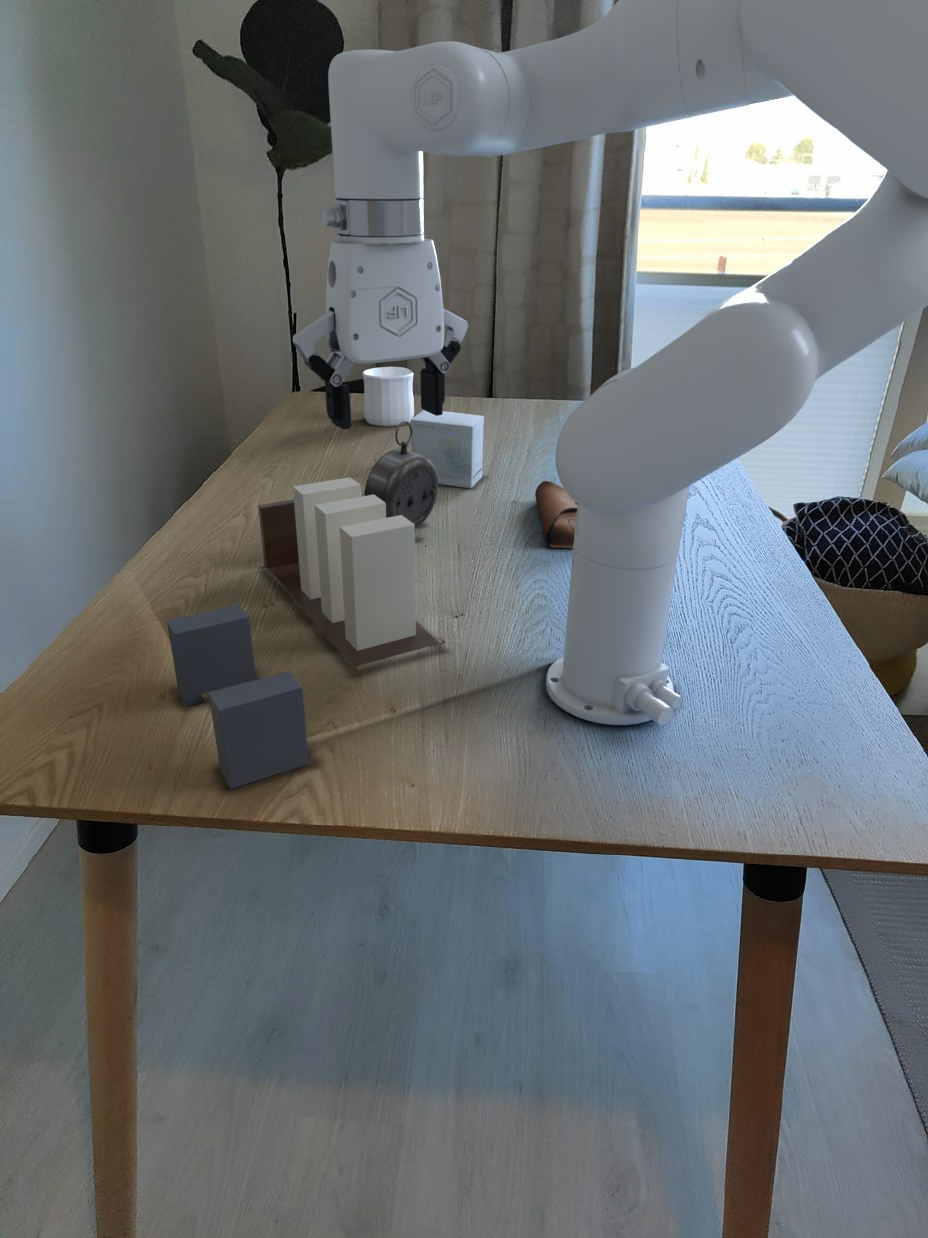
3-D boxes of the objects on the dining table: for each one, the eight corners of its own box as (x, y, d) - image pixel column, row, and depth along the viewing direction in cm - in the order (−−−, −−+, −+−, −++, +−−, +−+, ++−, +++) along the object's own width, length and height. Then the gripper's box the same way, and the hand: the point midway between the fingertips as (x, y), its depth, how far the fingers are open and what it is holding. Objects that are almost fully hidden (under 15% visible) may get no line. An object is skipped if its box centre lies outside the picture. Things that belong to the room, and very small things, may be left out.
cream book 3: (415, 635, 93) (414, 524, 87) (356, 651, 90) (351, 537, 84) (403, 623, 95) (401, 514, 89) (345, 638, 92) (339, 526, 86)
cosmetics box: (410, 481, 140) (409, 417, 135) (424, 469, 145) (424, 408, 140) (471, 489, 137) (472, 424, 132) (483, 477, 142) (485, 414, 137)
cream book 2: (388, 609, 98) (385, 502, 92) (332, 623, 95) (325, 514, 89) (377, 599, 100) (374, 494, 94) (321, 612, 97) (314, 504, 91)
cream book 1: (365, 587, 103) (360, 484, 97) (310, 600, 100) (302, 494, 94) (354, 577, 105) (350, 476, 99) (301, 589, 102) (292, 486, 96)
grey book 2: (309, 764, 75) (302, 687, 71) (230, 789, 71) (218, 710, 68) (296, 746, 77) (289, 670, 73) (219, 770, 74) (208, 692, 70)
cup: (423, 419, 173) (422, 370, 168) (393, 430, 165) (392, 379, 161) (385, 411, 177) (383, 363, 173) (354, 422, 170) (352, 372, 165)
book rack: (440, 650, 92) (440, 575, 88) (355, 674, 88) (351, 596, 83) (337, 556, 113) (334, 491, 109) (264, 571, 109) (257, 505, 104)
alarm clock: (416, 520, 125) (416, 409, 117) (444, 529, 122) (445, 417, 114) (363, 542, 117) (358, 425, 110) (391, 553, 114) (389, 434, 107)
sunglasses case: (607, 545, 117) (585, 505, 114) (561, 569, 118) (539, 530, 115) (588, 499, 132) (569, 463, 130) (548, 520, 134) (528, 485, 131)
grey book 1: (257, 687, 85) (249, 616, 81) (186, 706, 82) (174, 634, 78) (247, 673, 87) (239, 604, 84) (178, 691, 84) (166, 620, 80)
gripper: (302, 228, 67) (318, 442, 75) (488, 222, 75) (484, 416, 83) (269, 222, 73) (287, 422, 81) (445, 217, 81) (446, 399, 89)
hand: (387, 419), depth 82 cm, fingers open, 9 cm apart
